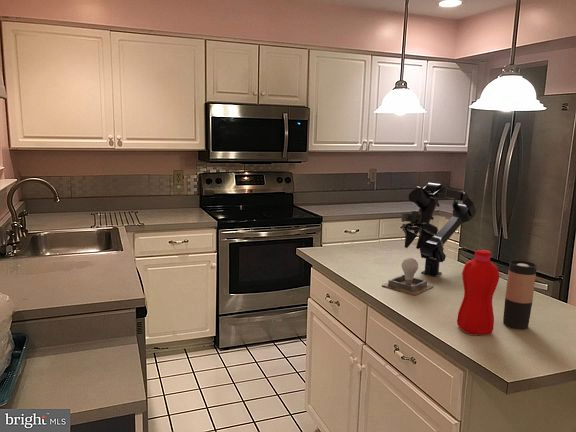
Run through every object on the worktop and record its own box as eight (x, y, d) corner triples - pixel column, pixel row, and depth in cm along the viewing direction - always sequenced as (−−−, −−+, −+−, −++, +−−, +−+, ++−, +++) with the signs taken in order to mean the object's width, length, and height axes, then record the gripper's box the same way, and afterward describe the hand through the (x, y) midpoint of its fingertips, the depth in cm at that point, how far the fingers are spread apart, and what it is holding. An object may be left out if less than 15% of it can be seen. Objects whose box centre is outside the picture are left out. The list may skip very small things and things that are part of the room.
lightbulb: (411, 289, 179) (414, 261, 177) (397, 285, 183) (399, 257, 181) (419, 285, 183) (421, 258, 181) (404, 282, 187) (407, 254, 185)
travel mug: (497, 320, 153) (504, 260, 150) (520, 320, 154) (527, 260, 150) (510, 330, 146) (518, 267, 142) (534, 330, 147) (542, 267, 143)
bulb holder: (400, 278, 193) (401, 272, 193) (433, 287, 184) (433, 281, 183) (381, 286, 183) (382, 279, 183) (414, 295, 174) (415, 289, 173)
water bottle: (477, 321, 152) (486, 244, 148) (497, 336, 142) (506, 254, 137) (450, 322, 151) (457, 245, 146) (467, 337, 140) (476, 254, 136)
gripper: (397, 204, 199) (383, 239, 197) (421, 202, 181) (405, 240, 179) (420, 216, 201) (406, 250, 200) (445, 215, 183) (430, 252, 181)
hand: (411, 248), depth 190 cm, fingers open, 9 cm apart
